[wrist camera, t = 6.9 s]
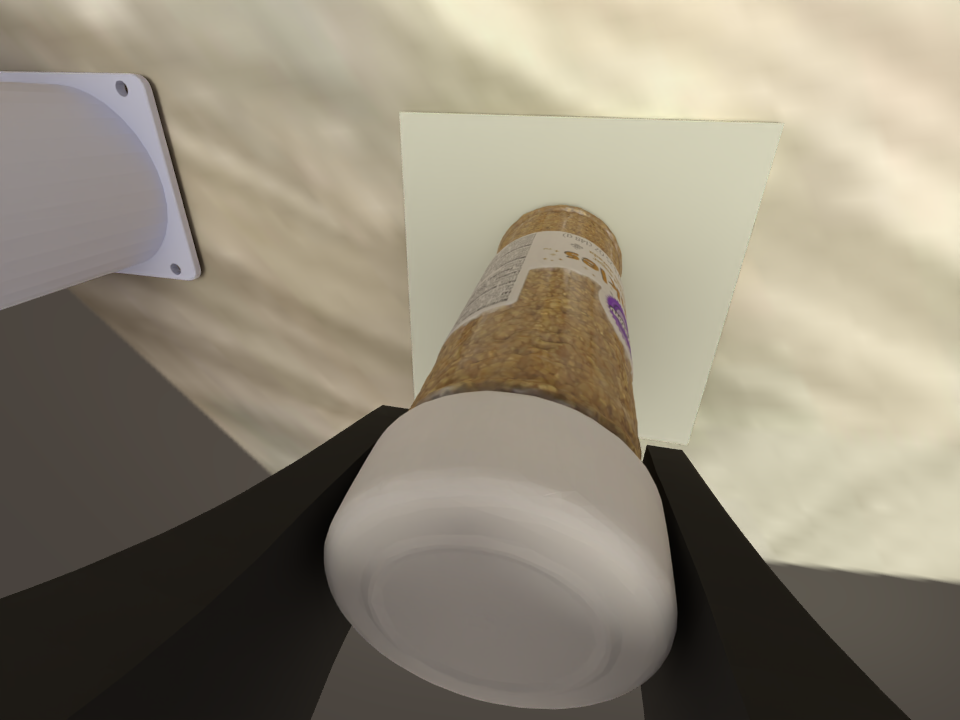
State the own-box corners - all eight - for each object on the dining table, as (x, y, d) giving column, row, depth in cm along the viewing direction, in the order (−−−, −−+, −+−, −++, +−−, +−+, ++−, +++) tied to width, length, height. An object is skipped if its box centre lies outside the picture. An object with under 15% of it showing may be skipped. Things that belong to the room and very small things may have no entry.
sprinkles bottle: (647, 275, 16) (767, 697, 5) (545, 341, 19) (472, 741, 7) (569, 170, 15) (504, 422, 4) (469, 254, 17) (244, 571, 6)
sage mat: (418, 398, 22) (414, 404, 22) (404, 111, 16) (399, 111, 16) (685, 438, 20) (687, 445, 19) (778, 122, 14) (784, 123, 14)
